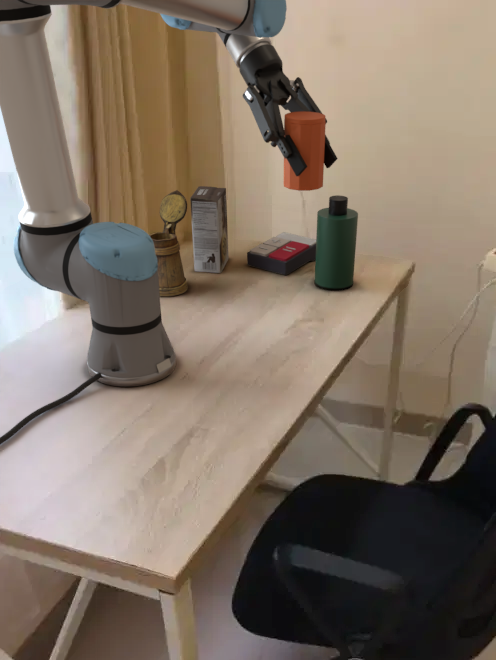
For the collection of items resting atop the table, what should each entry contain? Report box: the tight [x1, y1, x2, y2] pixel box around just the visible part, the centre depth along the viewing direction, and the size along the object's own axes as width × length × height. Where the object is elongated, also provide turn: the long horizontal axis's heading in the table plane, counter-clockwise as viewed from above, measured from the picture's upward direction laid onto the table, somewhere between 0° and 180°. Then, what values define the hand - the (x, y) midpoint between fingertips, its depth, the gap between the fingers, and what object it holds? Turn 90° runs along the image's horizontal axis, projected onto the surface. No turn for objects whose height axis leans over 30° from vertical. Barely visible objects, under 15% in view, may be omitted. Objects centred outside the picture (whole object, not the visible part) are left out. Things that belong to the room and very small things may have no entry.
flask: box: [313, 194, 359, 292], centre depth 158 cm, size 9×9×18 cm
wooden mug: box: [148, 189, 189, 297], centre depth 156 cm, size 9×14×18 cm, turn 163°
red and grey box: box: [246, 231, 316, 276], centre depth 173 cm, size 11×4×15 cm
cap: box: [283, 112, 327, 192], centre depth 138 cm, size 7×7×12 cm
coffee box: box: [189, 185, 230, 274], centre depth 166 cm, size 9×6×16 cm
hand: (317, 167), depth 138 cm, fingers closed on cap, 8 cm apart
